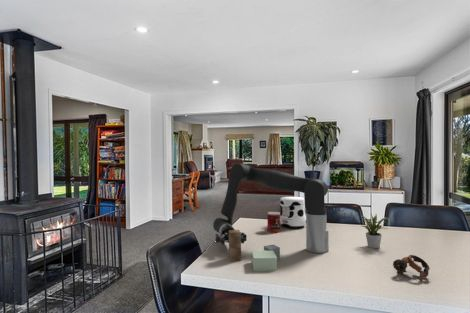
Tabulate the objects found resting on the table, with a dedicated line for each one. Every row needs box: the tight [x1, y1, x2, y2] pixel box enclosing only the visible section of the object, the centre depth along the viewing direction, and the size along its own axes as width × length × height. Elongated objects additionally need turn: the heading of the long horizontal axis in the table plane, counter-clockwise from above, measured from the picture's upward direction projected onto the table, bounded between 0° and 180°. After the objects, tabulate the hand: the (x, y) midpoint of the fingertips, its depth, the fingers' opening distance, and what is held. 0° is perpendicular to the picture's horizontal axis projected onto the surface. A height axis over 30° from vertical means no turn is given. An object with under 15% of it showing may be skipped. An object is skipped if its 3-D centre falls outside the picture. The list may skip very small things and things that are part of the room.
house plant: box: [360, 213, 388, 249], centre depth 136 cm, size 14×14×16 cm
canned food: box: [266, 211, 281, 234], centre depth 168 cm, size 8×8×11 cm
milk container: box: [279, 196, 306, 229], centre depth 181 cm, size 17×17×18 cm
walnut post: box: [228, 229, 242, 262], centre depth 121 cm, size 4×4×12 cm
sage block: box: [251, 250, 278, 271], centre depth 113 cm, size 9×9×5 cm
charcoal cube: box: [263, 244, 281, 261], centre depth 122 cm, size 5×5×5 cm
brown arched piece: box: [392, 254, 431, 281], centre depth 103 cm, size 12×10×8 cm
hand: (233, 241), depth 124 cm, fingers open, 8 cm apart
